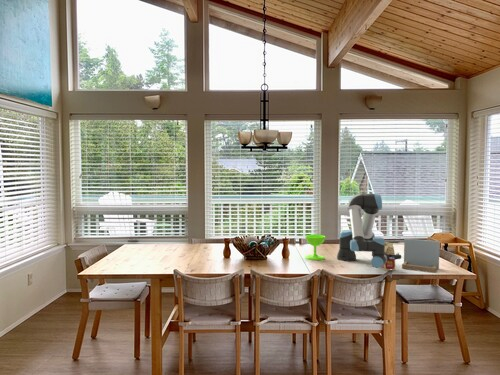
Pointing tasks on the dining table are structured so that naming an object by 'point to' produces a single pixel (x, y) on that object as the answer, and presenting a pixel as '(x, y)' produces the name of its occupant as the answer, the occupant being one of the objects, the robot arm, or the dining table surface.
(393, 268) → the milk carton
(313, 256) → the wineglass
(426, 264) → the wall board
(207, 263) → the dining table surface
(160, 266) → the dining table surface
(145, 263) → the dining table surface
